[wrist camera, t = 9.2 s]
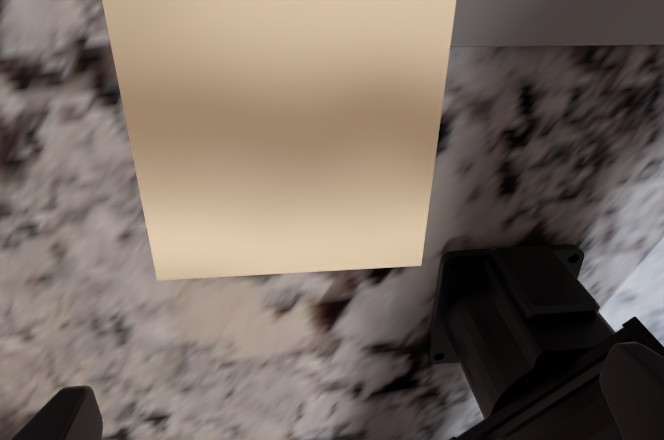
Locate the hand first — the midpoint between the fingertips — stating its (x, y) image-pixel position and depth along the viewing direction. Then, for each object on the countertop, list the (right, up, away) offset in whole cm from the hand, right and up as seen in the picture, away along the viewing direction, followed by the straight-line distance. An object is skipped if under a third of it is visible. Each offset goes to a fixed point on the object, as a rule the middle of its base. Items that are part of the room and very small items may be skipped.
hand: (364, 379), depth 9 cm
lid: (-2, +5, +5) cm, 8 cm away
